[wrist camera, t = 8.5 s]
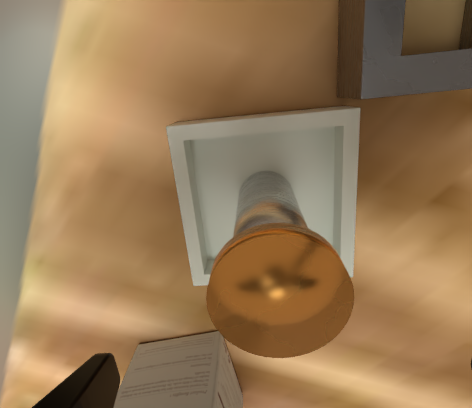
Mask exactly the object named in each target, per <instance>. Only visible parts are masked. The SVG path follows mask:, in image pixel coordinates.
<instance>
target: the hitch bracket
mask: <svg viewBox="0 0 472 408" xmlns="http://www.w3.org/2000/svg"><path fill="white" fill-rule="evenodd" d="M405 2H406V0H339V25H338V80H337V97H340V98H352V99H368V98H379V97H389V96H399V95H409V94H419V93H429V92H439V91H449V90H459V89H470V88H472V0H466V5H465V12H464V19H463V26H462V33H461V40H460V47H459V50H453V51H444V52H435V53H425V54H416V55H407V56H401V50H402V38H403V26H404V14H405Z"/></svg>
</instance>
